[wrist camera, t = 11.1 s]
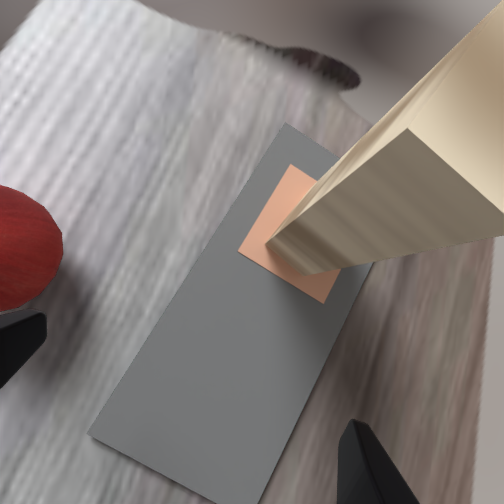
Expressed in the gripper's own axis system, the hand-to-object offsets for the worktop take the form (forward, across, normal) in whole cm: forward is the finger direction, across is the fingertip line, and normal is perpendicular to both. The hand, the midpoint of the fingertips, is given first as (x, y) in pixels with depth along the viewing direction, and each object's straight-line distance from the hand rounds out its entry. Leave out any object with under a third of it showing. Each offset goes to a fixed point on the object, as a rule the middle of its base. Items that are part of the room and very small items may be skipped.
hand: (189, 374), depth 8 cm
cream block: (+13, -3, -2) cm, 13 cm away
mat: (+10, -2, +3) cm, 11 cm away
